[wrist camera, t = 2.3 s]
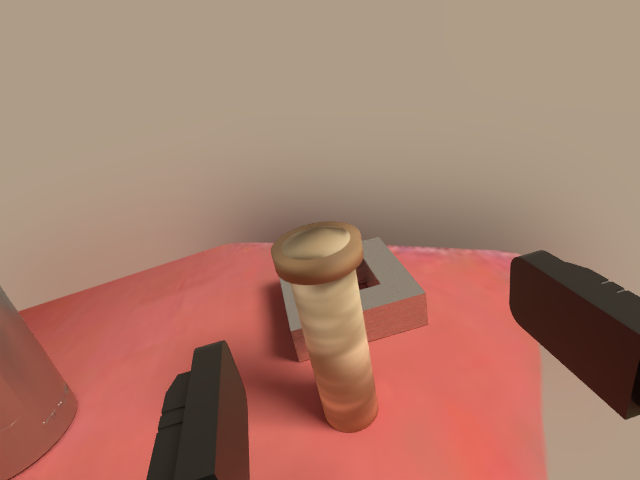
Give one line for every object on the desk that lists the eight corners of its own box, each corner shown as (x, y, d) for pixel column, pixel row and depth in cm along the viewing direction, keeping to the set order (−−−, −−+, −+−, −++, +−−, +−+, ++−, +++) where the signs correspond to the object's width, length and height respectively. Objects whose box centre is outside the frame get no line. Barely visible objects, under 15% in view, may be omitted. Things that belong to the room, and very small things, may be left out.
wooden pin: (324, 450, 25) (275, 275, 19) (310, 390, 30) (267, 234, 24) (397, 427, 26) (373, 249, 19) (373, 372, 30) (347, 214, 24)
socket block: (299, 362, 33) (290, 331, 31) (283, 289, 43) (276, 263, 42) (427, 324, 34) (425, 292, 32) (382, 262, 45) (378, 236, 43)
